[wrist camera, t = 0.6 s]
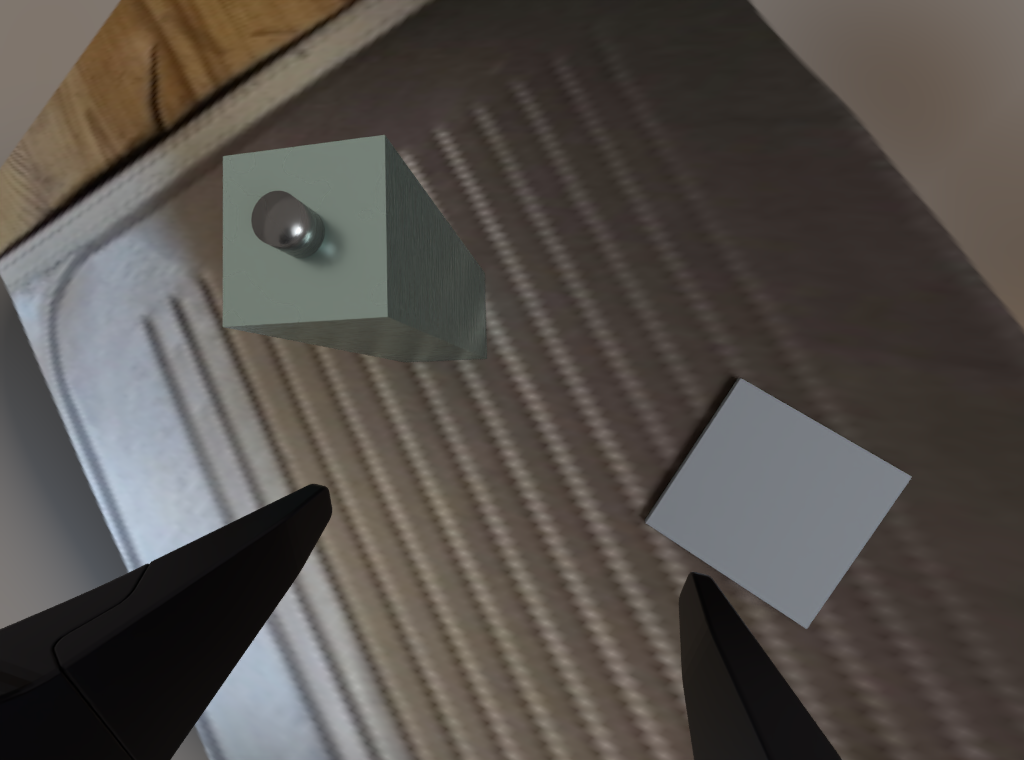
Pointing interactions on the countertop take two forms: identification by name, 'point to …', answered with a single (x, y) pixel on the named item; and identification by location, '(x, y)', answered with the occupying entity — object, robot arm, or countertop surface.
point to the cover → (347, 255)
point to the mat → (776, 501)
